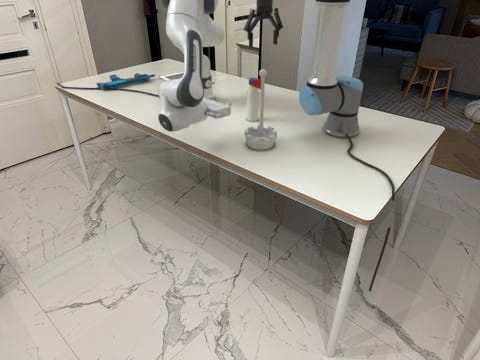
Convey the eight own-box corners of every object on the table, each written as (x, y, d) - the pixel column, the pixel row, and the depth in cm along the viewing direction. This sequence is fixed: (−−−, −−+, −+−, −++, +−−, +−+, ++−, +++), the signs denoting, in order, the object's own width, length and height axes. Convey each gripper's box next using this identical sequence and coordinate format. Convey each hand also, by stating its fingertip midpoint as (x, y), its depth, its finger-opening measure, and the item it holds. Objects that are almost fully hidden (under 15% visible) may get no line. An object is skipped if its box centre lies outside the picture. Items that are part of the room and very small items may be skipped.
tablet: (159, 77, 217) (158, 76, 217) (185, 71, 228) (185, 71, 228) (186, 89, 197) (186, 89, 197) (214, 82, 208) (214, 82, 208)
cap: (247, 83, 153) (247, 78, 151) (254, 82, 154) (255, 77, 153) (251, 86, 150) (251, 80, 148) (259, 84, 151) (259, 79, 150)
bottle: (244, 118, 162) (244, 79, 152) (254, 115, 164) (255, 77, 154) (250, 122, 158) (251, 82, 148) (260, 119, 160) (261, 80, 150)
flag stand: (268, 134, 146) (271, 63, 130) (281, 147, 136) (287, 72, 120) (240, 139, 142) (239, 66, 126) (252, 153, 132) (253, 76, 116)
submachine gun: (140, 68, 226) (159, 74, 209) (142, 73, 228) (160, 80, 211) (89, 77, 207) (104, 85, 190) (90, 84, 209) (106, 92, 192)
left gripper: (216, 109, 123) (240, 99, 132) (178, 97, 134) (203, 88, 143) (216, 125, 127) (240, 114, 135) (180, 112, 138) (204, 103, 147)
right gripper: (283, -6, 163) (280, 41, 174) (236, -3, 154) (237, 46, 166) (292, -4, 157) (288, 44, 169) (243, -2, 148) (243, 49, 160)
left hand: (221, 101), depth 140 cm, fingers open, 8 cm apart
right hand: (263, 45), depth 167 cm, fingers open, 13 cm apart
